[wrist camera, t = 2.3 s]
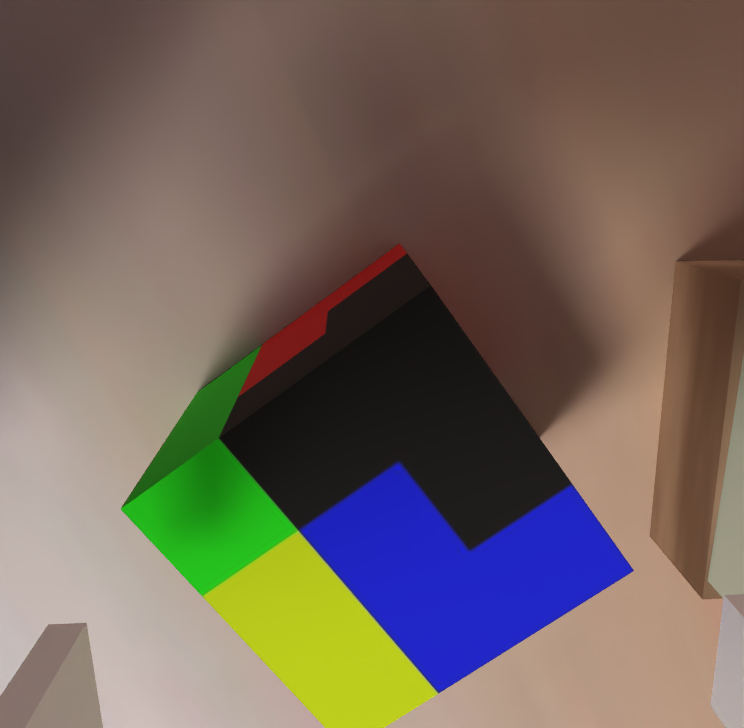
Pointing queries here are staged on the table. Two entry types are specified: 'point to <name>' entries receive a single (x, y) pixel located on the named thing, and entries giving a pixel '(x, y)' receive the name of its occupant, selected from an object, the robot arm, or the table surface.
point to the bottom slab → (698, 413)
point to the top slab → (731, 512)
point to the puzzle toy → (371, 504)
